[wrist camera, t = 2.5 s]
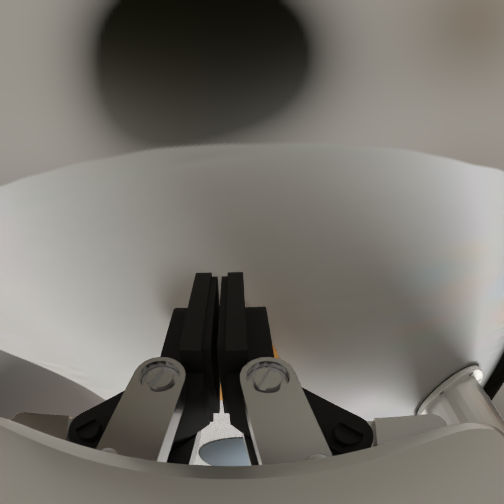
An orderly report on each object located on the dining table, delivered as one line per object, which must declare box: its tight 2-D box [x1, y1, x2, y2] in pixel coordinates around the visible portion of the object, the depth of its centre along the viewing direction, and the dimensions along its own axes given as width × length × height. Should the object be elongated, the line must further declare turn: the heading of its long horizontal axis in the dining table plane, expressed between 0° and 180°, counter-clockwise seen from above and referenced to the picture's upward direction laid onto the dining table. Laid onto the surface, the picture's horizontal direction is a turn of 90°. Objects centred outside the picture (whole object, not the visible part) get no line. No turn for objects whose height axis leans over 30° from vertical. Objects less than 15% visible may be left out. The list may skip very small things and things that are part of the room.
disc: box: [200, 438, 250, 466], centre depth 32 cm, size 13×13×1 cm
